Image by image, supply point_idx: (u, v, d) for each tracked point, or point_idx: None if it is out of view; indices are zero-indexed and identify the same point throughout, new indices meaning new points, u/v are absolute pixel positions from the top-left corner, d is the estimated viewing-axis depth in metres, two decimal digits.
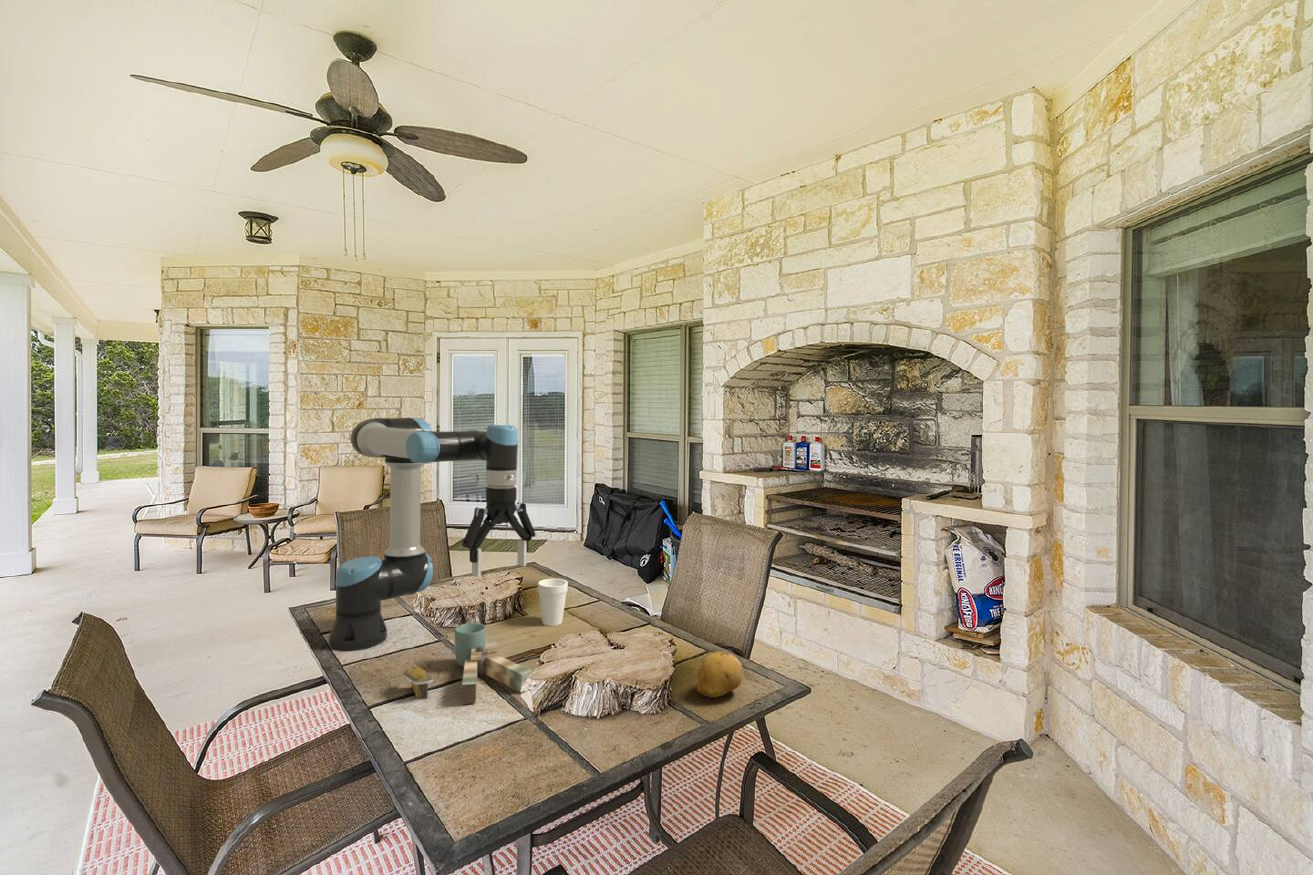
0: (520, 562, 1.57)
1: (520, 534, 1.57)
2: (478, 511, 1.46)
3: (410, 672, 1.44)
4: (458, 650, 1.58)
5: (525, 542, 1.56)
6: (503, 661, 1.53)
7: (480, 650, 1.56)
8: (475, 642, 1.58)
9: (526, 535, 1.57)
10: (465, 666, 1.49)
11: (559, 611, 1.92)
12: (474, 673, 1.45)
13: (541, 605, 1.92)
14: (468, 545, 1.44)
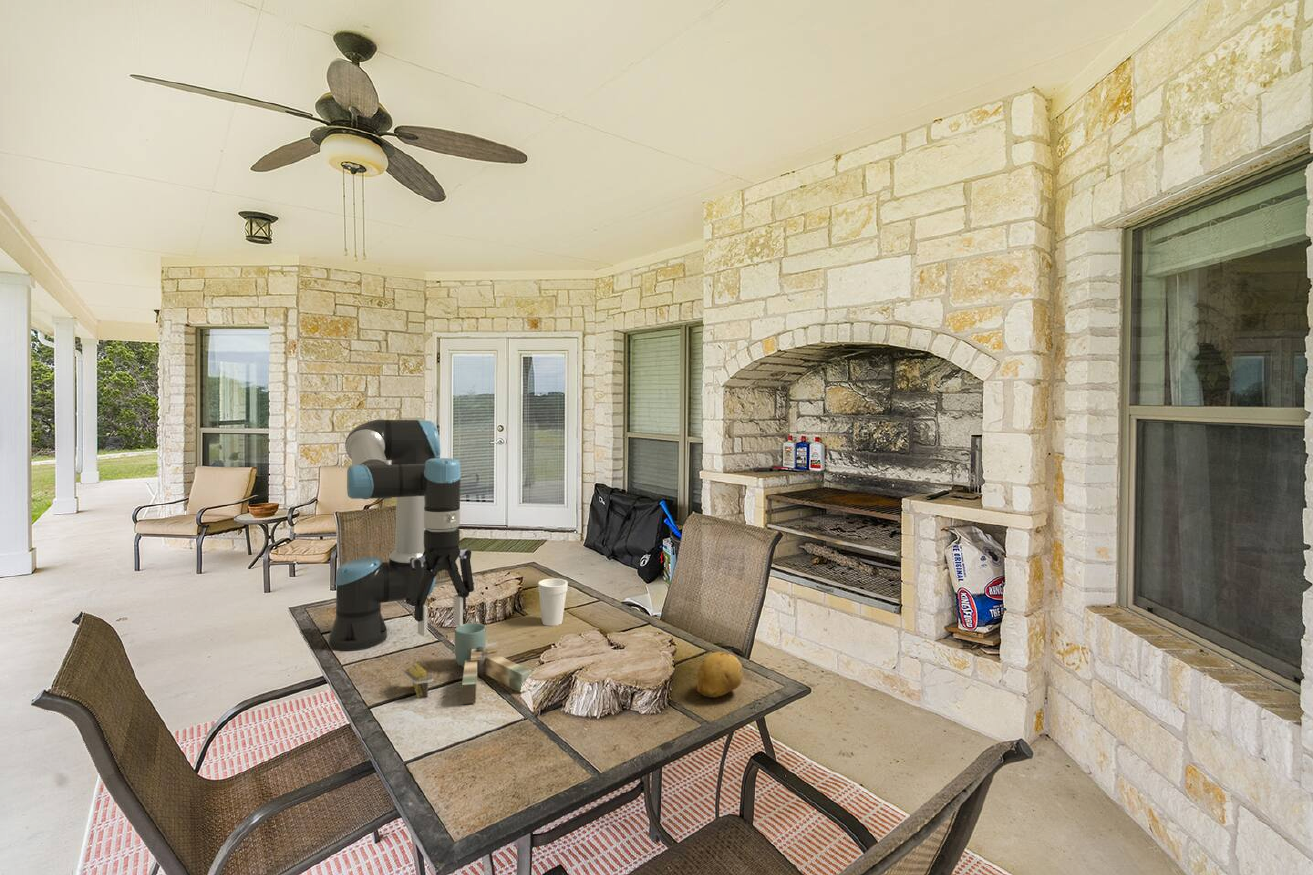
0: (456, 621, 1.38)
1: (457, 587, 1.37)
2: (413, 563, 1.29)
3: (411, 671, 1.45)
4: (458, 650, 1.58)
5: (461, 599, 1.37)
6: (503, 661, 1.53)
7: (480, 650, 1.56)
8: (475, 642, 1.58)
9: (463, 590, 1.37)
10: (465, 666, 1.49)
11: (559, 611, 1.92)
12: (474, 673, 1.45)
13: (541, 605, 1.92)
14: (412, 603, 1.28)
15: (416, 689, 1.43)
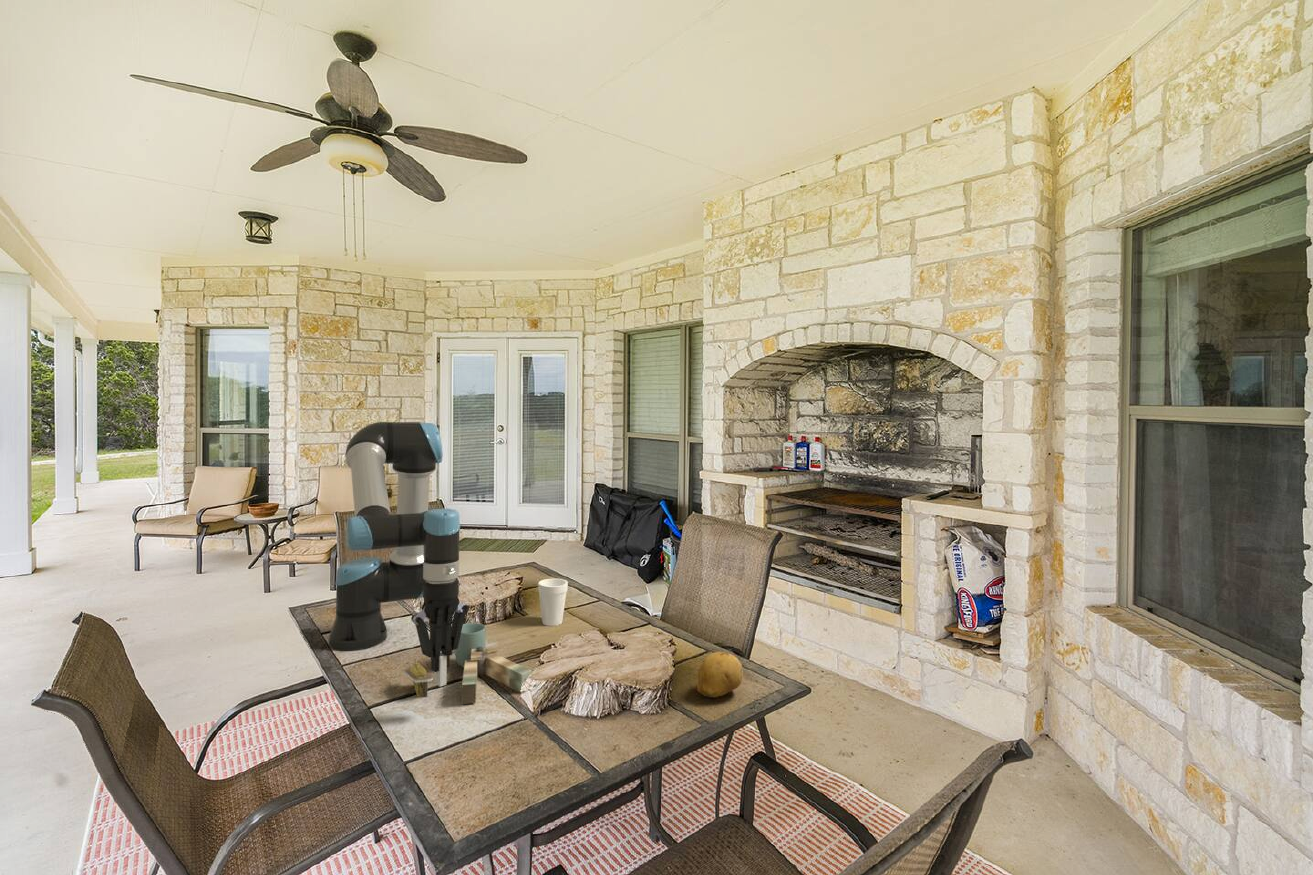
0: None
1: (443, 643, 1.35)
2: (416, 622, 1.29)
3: (411, 670, 1.46)
4: (458, 650, 1.58)
5: (445, 657, 1.34)
6: (503, 661, 1.53)
7: (480, 650, 1.56)
8: (474, 642, 1.58)
9: (448, 647, 1.35)
10: (465, 666, 1.49)
11: (559, 611, 1.92)
12: (474, 673, 1.45)
13: (541, 605, 1.92)
14: (428, 655, 1.31)
15: (416, 688, 1.43)
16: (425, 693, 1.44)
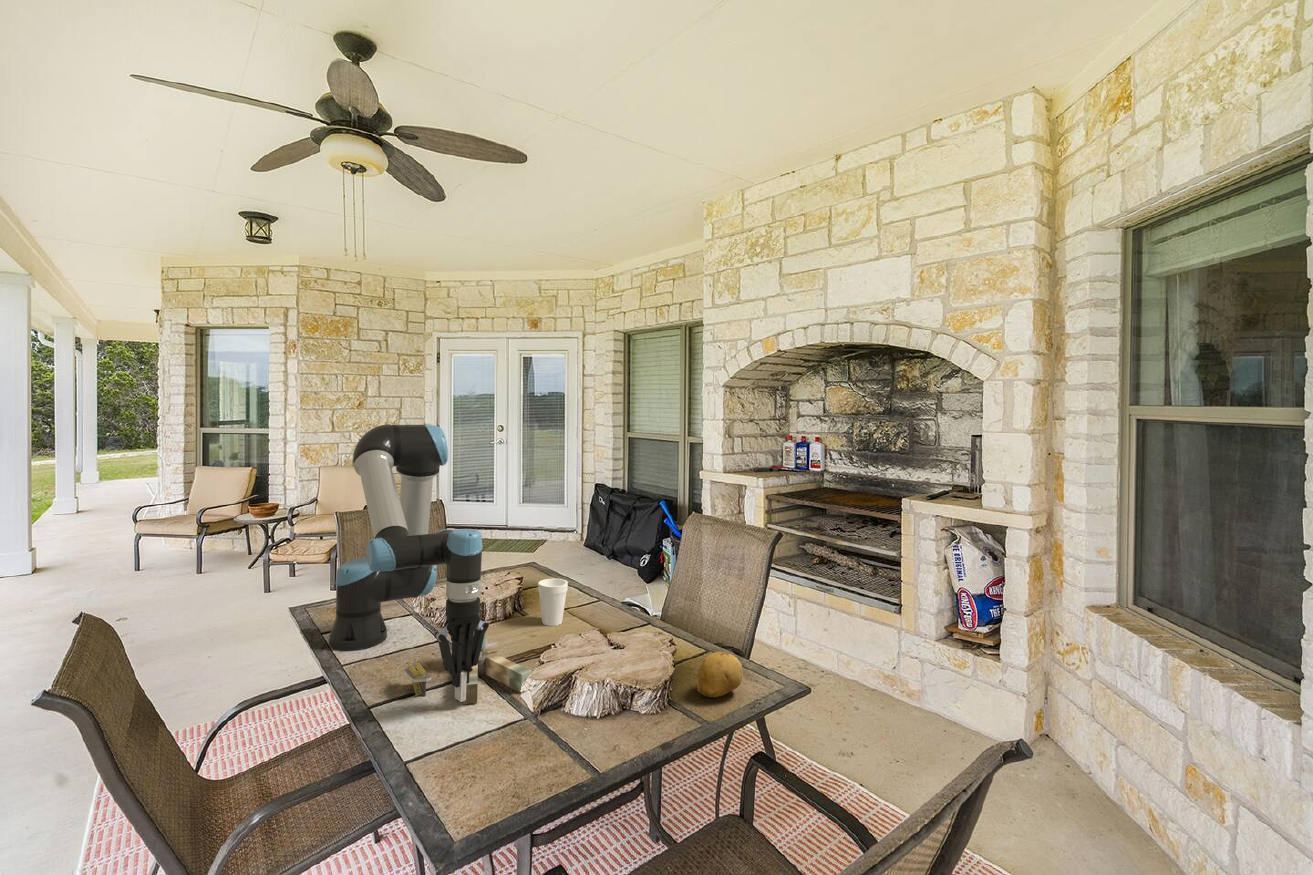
0: None
1: (464, 659, 1.39)
2: (439, 639, 1.34)
3: (410, 669, 1.46)
4: None
5: (465, 674, 1.38)
6: (503, 661, 1.53)
7: None
8: None
9: (469, 664, 1.39)
10: None
11: (559, 611, 1.92)
12: (475, 673, 1.45)
13: (541, 605, 1.92)
14: (450, 671, 1.36)
15: (415, 687, 1.44)
16: (424, 693, 1.44)
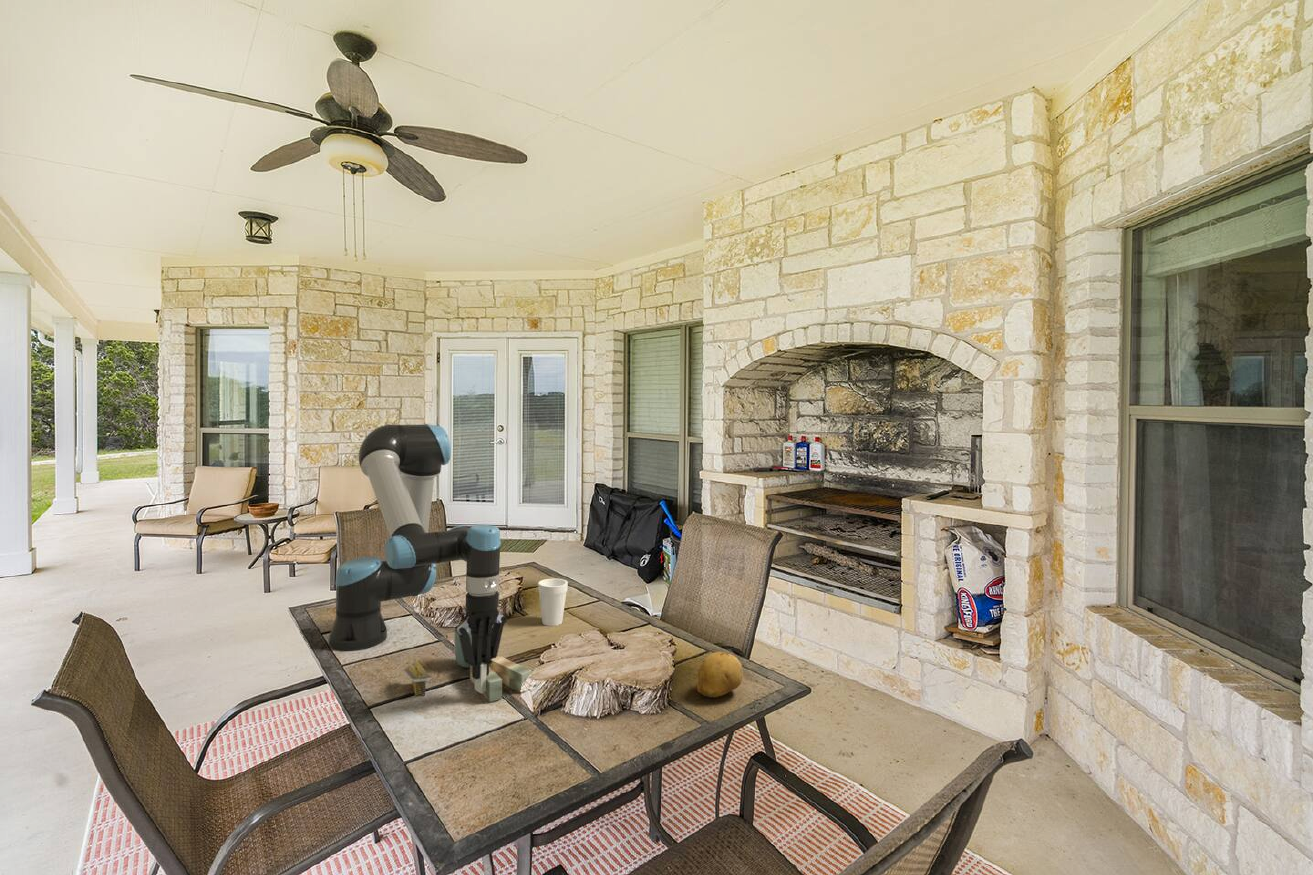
0: None
1: (483, 652, 1.43)
2: (459, 632, 1.38)
3: (410, 669, 1.46)
4: (458, 650, 1.58)
5: (485, 666, 1.42)
6: (503, 661, 1.53)
7: None
8: None
9: (488, 656, 1.43)
10: None
11: (559, 611, 1.92)
12: (491, 671, 1.47)
13: (541, 605, 1.92)
14: (471, 664, 1.39)
15: (414, 687, 1.44)
16: (423, 692, 1.44)
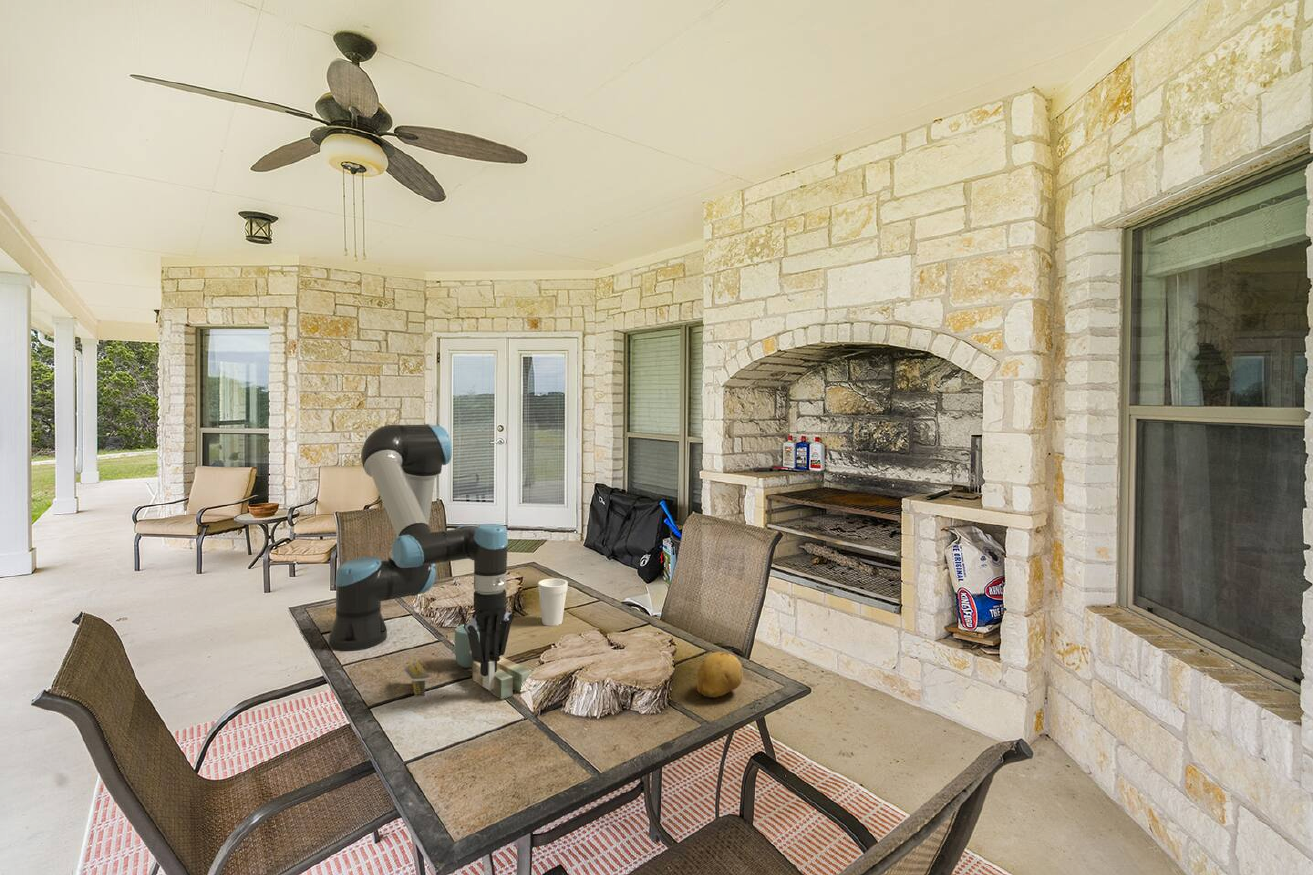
0: None
1: (491, 649, 1.45)
2: (468, 630, 1.39)
3: (410, 668, 1.47)
4: (458, 650, 1.58)
5: (493, 663, 1.44)
6: (503, 661, 1.53)
7: None
8: None
9: (496, 653, 1.45)
10: None
11: (559, 611, 1.92)
12: (498, 669, 1.48)
13: (541, 605, 1.92)
14: (479, 661, 1.41)
15: (414, 686, 1.44)
16: (423, 692, 1.44)
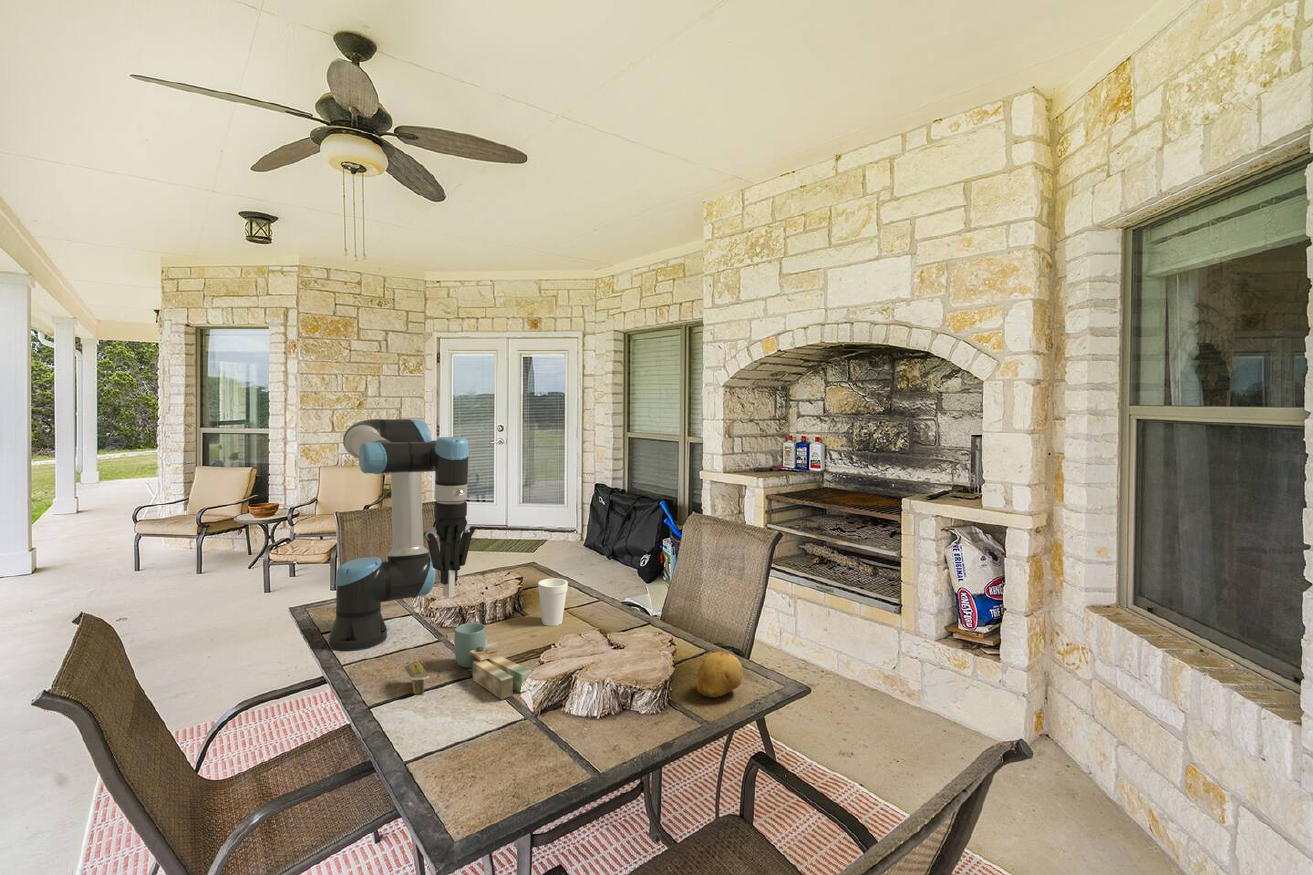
0: None
1: (452, 559, 1.48)
2: (428, 537, 1.42)
3: (410, 667, 1.47)
4: (458, 650, 1.58)
5: (453, 572, 1.47)
6: (503, 661, 1.53)
7: (482, 650, 1.56)
8: (474, 642, 1.58)
9: (457, 563, 1.48)
10: (481, 666, 1.49)
11: (559, 611, 1.92)
12: (498, 669, 1.48)
13: (541, 605, 1.92)
14: (439, 569, 1.44)
15: (413, 685, 1.45)
16: (422, 691, 1.45)
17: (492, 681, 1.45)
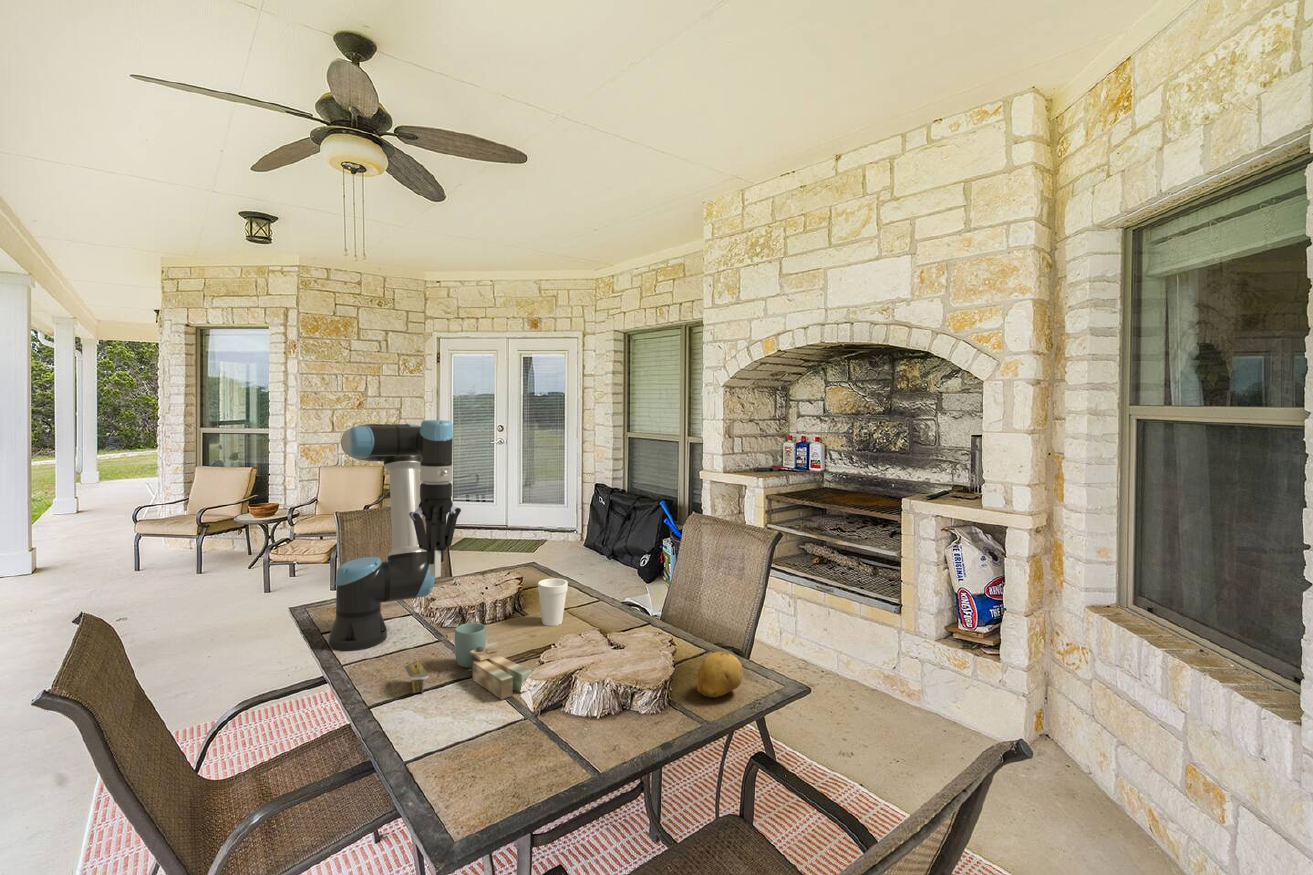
0: None
1: (438, 540, 1.51)
2: (413, 517, 1.45)
3: (410, 666, 1.48)
4: (458, 650, 1.58)
5: (439, 552, 1.50)
6: (503, 661, 1.53)
7: (482, 650, 1.56)
8: (475, 642, 1.58)
9: (443, 543, 1.51)
10: (481, 666, 1.49)
11: (559, 611, 1.92)
12: (498, 669, 1.48)
13: (541, 605, 1.92)
14: (424, 548, 1.47)
15: (413, 685, 1.45)
16: (421, 690, 1.45)
17: (492, 681, 1.45)
